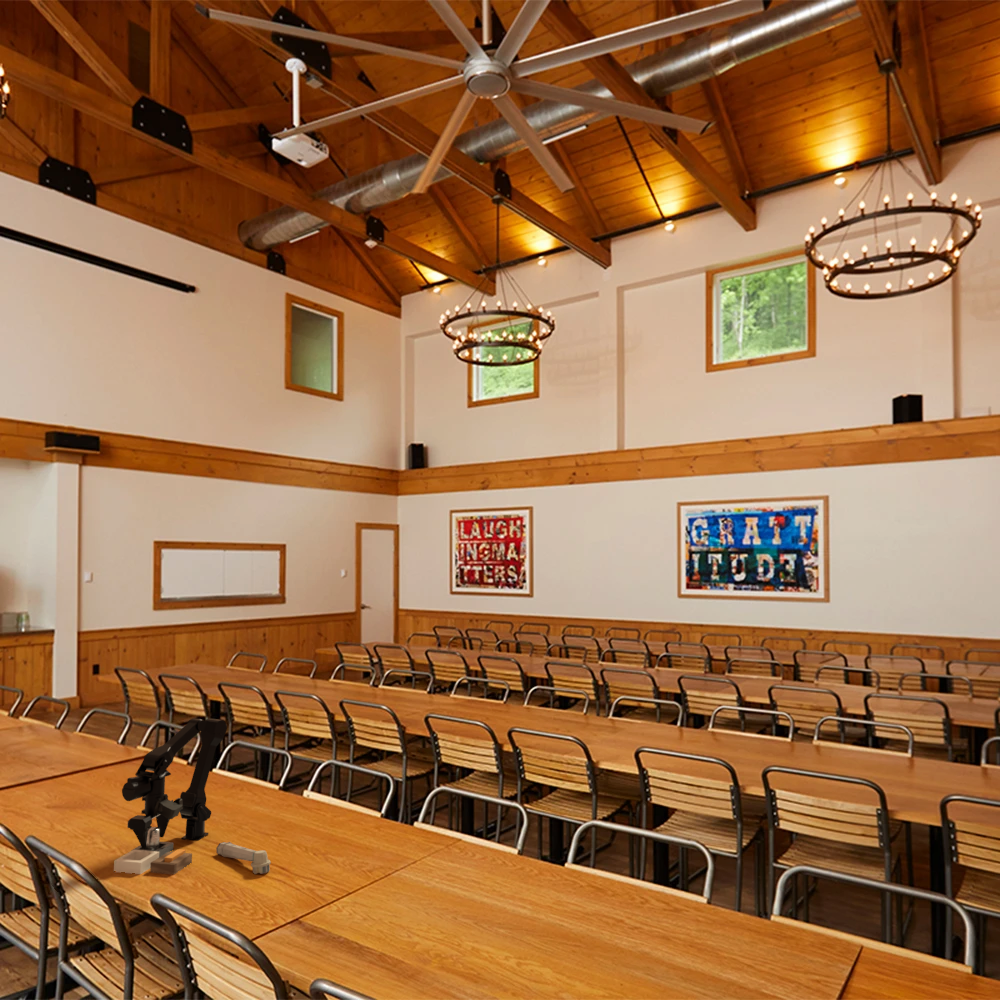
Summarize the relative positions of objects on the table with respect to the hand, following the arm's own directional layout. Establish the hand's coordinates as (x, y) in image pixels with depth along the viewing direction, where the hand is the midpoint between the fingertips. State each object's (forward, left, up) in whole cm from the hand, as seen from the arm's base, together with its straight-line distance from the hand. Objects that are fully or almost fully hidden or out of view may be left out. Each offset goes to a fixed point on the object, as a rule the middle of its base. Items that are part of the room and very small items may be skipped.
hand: (152, 842), depth 249 cm
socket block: (0, 0, -4) cm, 4 cm away
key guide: (+8, +12, -4) cm, 15 cm away
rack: (+11, +2, -4) cm, 11 cm away
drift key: (+7, +12, -4) cm, 15 cm away
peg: (0, 0, -4) cm, 4 cm away
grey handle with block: (+1, +32, -4) cm, 32 cm away
